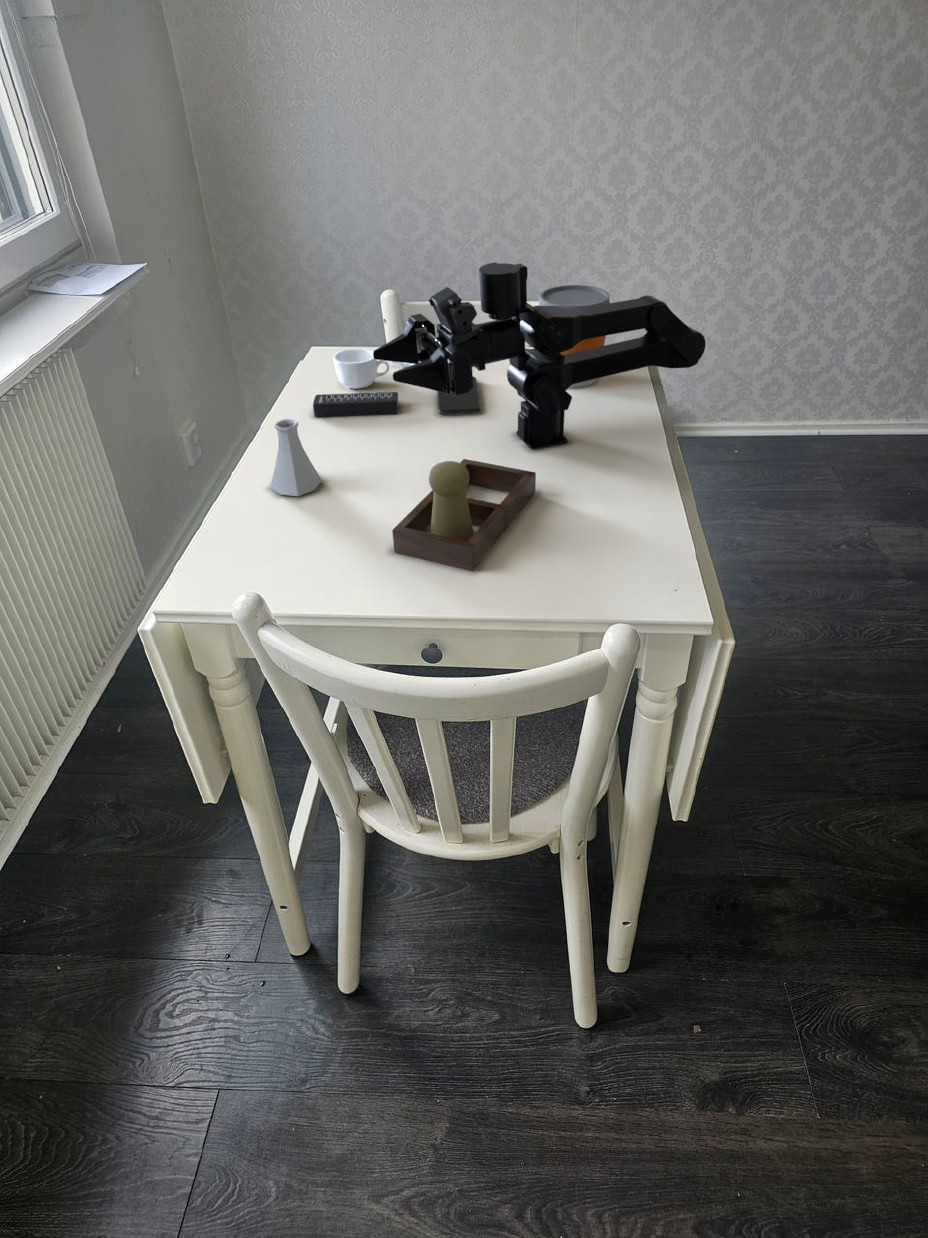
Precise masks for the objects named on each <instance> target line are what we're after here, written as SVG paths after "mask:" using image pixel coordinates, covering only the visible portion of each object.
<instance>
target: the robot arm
mask: <svg viewBox="0 0 928 1238" xmlns="http://www.w3.org/2000/svg"><path fill="white" fill-rule="evenodd" d="M528 274H529V273H528V267H527V266H526V265H524V264H522V263H516V264H513V263H507V262H506V263H502V262H501V263H497V262H490V263H486V264H483V265H481V266H480V267H479V268H478V276H479V278H478V279H479V295H480V309H481V310H480V311H481V312H482V313H484V314H487V315H488V318H489V319H490V320H491V321H486V322H485V321H484V322H481V323H474V322H473V321H474V320H475V318H476V317H477V315H478V312H477V310H476V308H475V305H473V304H472V303H471V302H469V301H463V300H462V298H461V297H460V296H459V295H458V294H457V292H455V291H454V290H453V289H451V288H450V287H448V286H446V287H444V288H442V289H441V290H439V291H438V292H436V293H434V294H433V295H431V296H429V297H428V302H429V304H430V306H431V307H432V309H433V310H434V312H435V315H436V316H437V319H438V321H439V323H437V324H436V325H435V324H434V323H433V322H432V321H431V320H429V319H428V318H427V317H426V316H424V315H423V314H422V313H416V314H412V315H408V318H407V319H408V320H407V321H406V322H405V328H404V330H403V332H402V333H401V334H400V335H398V336H397V337H395V338H393V339H391V340H390V341H389V342H387V343H385V344H383V345H381V346H379V347H377V348H375V349H374V350H372V351H373V358H374V359H377V361H380V360H384V361H386V362H392V361H394V362H403V363H412V364H414V365H412V366H409V367H403V368H401V369H399V370H395V371H393V372H392V374H391V375H392V380H393V381H394V382H396V383H402V384H406V385H411V386H414V387H420V388H423V389H428V390H432V391H435V392H437V391H439V392H443V393H445V394H450V393H451V394H452V395H453V396H454V397H455V398H456V397H460V396H464V395H468V394H469V392H470V391H471V389H472V388H473V368H475V369H476V370H477V371H479V372H480V371H485V370H486V365H487V364H493V363H497V362H502V361H505V360H508V361H509V365H508V368H507V371H506V377H507V382H508V384H509V385H510V386H511V387H512V388H513V389H514V390H516V393H517V395H518V396H519V397H521V398H522V399H524V400H523V401H520V411H518V413H517V430H516V435H517V437H518V438H519V439H520V440H521V441H522V442H523V443H524V444H525V445H526V446H527V447H528V448H529V449H530V450H537V449H542V448H549V447H553V446H559V445H564V444H567V443H568V442H569V439H568V438H567V436H566V435H564V434H565V412H566V411H568V410H569V407H570V405H571V403H572V400H573V397H572V395H571V394H570V393H569V392H567V390H568V389H570V388H569V387H570V386H571V385H573V384H577V383H581V382H585V381H589V380H594V379H595V380H597V379H598V380H599V379H602V378H606V377H610V376H614V375H618V374H623V373H627V372H631V371H635V370H640V369H643V368H648V367H659V368H664V369H665V368H666V369H688V368H689V369H690V368H692V367H695V366H696V365H697V364H699V361H700V360H701V358H702V357H703V355H704V353H705V350H706V346H707V345H706V338H705V335H703V334H702V333H701V332H700V331H698V330H696V329H695V328H692V327H690V326H689V325H687V324H686V323H685V322H684V321H682V319H680V318H679V317H678V316H677V315H676V314H675V313H674V312H673V311H672V310H671V309H670V308H669V306H668V304H667V303H665V302H664V301H662V300H660V299H658V298H656V297H654V296H652V295H643V296H640V297H638V298H633V299H628V300H621V301H616V302H610V303H609V304H603V305H597V306H591V307H585V308H580V309H570V308H564V307H558V306H539V305H534V306H533V305H532V304H530V303H528V293H527V291H528V289H527V283H528V282H527V281H528ZM462 301H463V302H462ZM643 329H644V330H645V334H644V335H642V336H639V337H636V338H632V339H627V340H623V341H618V342H614V343H610V344H606V345H605V344H604V346H601V347H596V348H592V349H588V350H583V351H579V352H574V353H570V354H566V355H562V354H561V352H564V351H566V350H569V349H572V348H573V347H574V346H575V345H577V344H578V343H579V342H581V341H583V340H586V339H590V338H595V337H601V336H606V337H607V336H611V335H616V334H620V333H621V334H622V333H627V332H632V331H633V332H634V331H638V330H639V331H640V330H643ZM436 333H437V336H436ZM526 344H528V345H529V347H532V348H526ZM419 362H420V363H419Z"/></svg>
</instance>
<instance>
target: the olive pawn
mask: <svg viewBox="0 0 928 1238" xmlns="http://www.w3.org/2000/svg"><path fill="white" fill-rule="evenodd" d="M428 482H429V486H430V489H431V491H432V490H433V491H434V496H433V508H432V520H431V524H430V532H429V533H431V534H435V535H440V536H444V537H449V538H453V539H457V540H462V541H466V542H468V541H469V539H470V538H471V537H472V536H473V535H474V534H475V532H474V528H473V525H472V522H471V516H470V511H469V505H468V500H467V498H468V494H467V488H468V487H469V486H470V485H469V472H468V470H467V468H466V467H465V466H464V465H463V464H461V463H460V462H458V461H453V460H445V461H441V462H438V463H436V464H435V465H433V466H432V467H431V469H430V470H429V475H428Z"/></svg>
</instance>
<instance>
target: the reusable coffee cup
mask: <svg viewBox="0 0 928 1238" xmlns="http://www.w3.org/2000/svg"><path fill="white" fill-rule="evenodd" d="M538 300H539V301H538V306H558V307H564V308H570V309H580V308H585V307H591V306H597V305H603V304H609V303H611V302H610V293H609V291H607V290H605V289H604V288H600V287H597V286H594V285H593V286H592V285H585V284H565V285H557V286H553V287H549V288H547V289H545V290H543V291H542V292H540V294H539V299H538ZM606 337H607V335H606V336H601V337H595V338H590V339H586V340H583V341H581V342H579V343H578V344H577V345H575V346H574V347H573V348H572V349H569V350H566V351H564V352H561V354H562V355H566V354H570V353H574V352H579V351H583V350H588V349H592V348H596V347H601V346H605V343H606ZM595 381H596V379H594V380H589V381H585V382H581V383H577V384H573V385H571V386H570V387H569V388H568V389H579V388H584V387H587V386H590V385H592V384H593V383H595Z"/></svg>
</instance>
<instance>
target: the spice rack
mask: <svg viewBox="0 0 928 1238" xmlns="http://www.w3.org/2000/svg"><path fill="white" fill-rule="evenodd" d="M459 463H461V464H463V465H464V466H465V467H466V468H467V470H468V472H469V485H468V486H473V487H479V488H483V489H488V490H494V491H498V492H503V493H508V494H506V496H505V497H504V499H503V500H502V501H501V502H500V503H496V502H491V501H486V500H481V499H477V498H471V497H467V500H468V505H469V511H470V516H471V522H472V526H475V527H478V528H477V530H476V531H475V532H474V535H473V536H472V537H471V538H470V539H469V541H468V542H466V541H462V540H457V539H453V538H449V537H444V536H440V535H435V534H431V533H430V532H427V531H426V530H427V529H428V528H429V527H430V526H431V520H432V508H433V496H434V491H433V490H432V489H431V491H430V492H429V493H428V494H427V495H426V496H425V497H424V498H423V499H422V500H420V501H419V503H418V504H417V505H416V506H415V507H414V508H413V509H412V510H411V511H410V512H408V513H407V515H406V516H404V518H403V519H402V520H401V521H399V523H397V525H395V527H394V528H393V529H391V530H392V541H393V552H394V553H395V554H398V555H399V554H400V555H404V556H407V557H411V558H416V559H420V560H425V561H429V562H432V563H436V564H441V565H445V566H449V567H453V568H457V569H462V570H466V571H469V572H474V570H475V569H476V568H477V566H478V565H479V564H480V563H481V562H482V560H483V559H484V558H485V556H486V555H487V554H488V553H489V551H490V550H491V549H492V548H493V547H494V546H495V544H496V543H497V542H498V540H499V539H500V538H501V537H502V535H503V534H504V533H505V532H506V531H507V529H508V528H509V527H511V525H512V524H513V522H514V521H515V520H516V519H517V517H518V516H519V515H520V514H521V513H522V511H523V510H524V508H526V506H527V505H528V504H529V502H530V501H531V500H532V499H533V497H535V495H536V483H537V481H536V480H537V477H536V476H537V473H536V471H531V470H524V469H519V468H516V467H515V468H514V467H509V466H504V465H499V464H494V463H489V462H484V461H483V462H482V461H478V460H473V459H467V458H463V459H462V460H461V461H460V462H459Z"/></svg>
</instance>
